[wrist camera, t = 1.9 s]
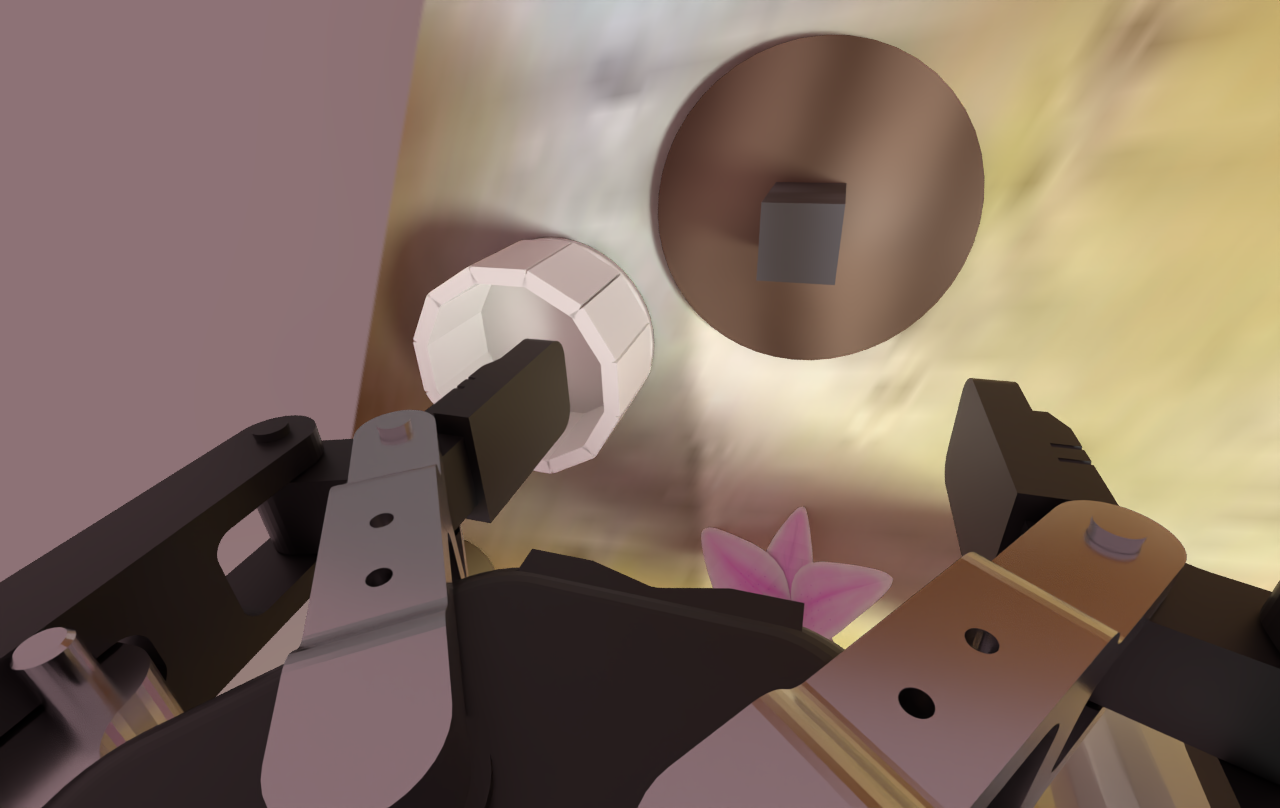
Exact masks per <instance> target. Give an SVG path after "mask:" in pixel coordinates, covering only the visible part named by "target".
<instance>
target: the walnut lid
mask: <svg viewBox="0 0 1280 808" xmlns="http://www.w3.org/2000/svg"><path fill="white" fill-rule="evenodd" d="M983 202H984V169H983V161H982V153H981V149H980V146H979V142H978V139H977V135H976V132H975V129H974V127H973V125H972V123H971V120H970V118H969V116H968V114H967V112H966V110H965V108H964V107H963V105H962V104H961V102H960V101H959V99H958V98H957V96H956V95H955V93H954V92H953V90H952V89H951V88H950V87H949V86H948V85H947V84H946V83H945V82H944V81H943V79H942V78H941V77H940V76H939V75H938V74H937V73H936V72H935V71H933V70H932V69H931V68H929V67H928V66H927V65H925V64H924V63H923V62H921V61H920V60H919V59H917V58H916V57H914V56H912V55H910V54H908V53H906V52H904V51H902V50H901V49H899V48H897V47H894V46H891V45H888V44H885V43H882V42H879V41H877V40H873V39H868V38H862V37H856V36H850V35H822V36H814V37H806V38H800V39H796V40H793V41H789V42H786V43H782V44H778V45H776V46H774V47H771V48H769V49H767V50H764V51H762V52H760V53H757V54H755V55H754V56H752V57H750V58H749V59H747V60H745V61H744V62H742V63H740V64H739V65H737V66H735V67H734V68H733V69H732V70H730V71H729V72H728V73H727V74H725V75H724V76H723V77H722V78H720V79H719V80H718V81H717V82H716V83H715V84H714V85H713V86H712V87H711V88H710V89H709V90H708V91H707V92H706V93H705V94H704V95H703V96H702V97H701V98H700V100H699V101H698V102H697V104H696V105H695V106H694V107H693V109H692V110H691V111H690V113H689V114H688V115H687V117H686V119H685V121H684V122H683V124H682V126H681V127H680V129H679V131H678V132H677V134H676V137H675V139H674V141H673V143H672V146H671V148H670V150H669V153H668V156H667V159H666V162H665V166H664V169H663V173H662V178H661V184H660V190H659V201H658V221H659V233H660V238H661V243H662V248H663V252H664V255H665V258H666V261H667V264H668V267H669V270H670V272H671V274H672V276H673V278H674V280H675V282H676V284H677V286H678V288H679V289H680V291H681V292H682V294H683V295H684V297H685V299H686V300H687V301H688V302H689V304H690V305H691V306H692V307H693V309H694V310H695V311H696V312H697V313H698V314H699V315H700V316H701V317H702V318H703V319H704V320H705V321H706V322H707V323H708V324H709V325H710V326H712V327H713V328H714V329H716V330H717V331H718V332H720V333H721V334H723V335H724V336H725V337H727V338H729V339H731V340H733V341H734V342H736V343H738V344H740V345H742V346H744V347H747V348H749V349H752V350H754V351H756V352H760V353H763V354H767V355H771V356H774V357H780V358H787V359H796V360H818V359H831V358H836V357H841V356H846V355H850V354H853V353H857V352H860V351H863V350H866V349H869V348H871V347H873V346H876V345H878V344H880V343H882V342H885V341H887V340H889V339H890V338H892V337H894V336H895V335H897V334H899V333H900V332H902V331H904V330H905V329H907V328H908V327H909V326H911V325H912V324H913V323H914V322H916V321H917V320H918V319H920V318H921V317H922V316H923V315H924V314H925V313H926V312H927V311H928V310H929V309H930V308H932V307H933V306H934V305H935V304H936V303H937V302H938V301H939V299H940V298H941V297H942V296H943V294H944V293H945V292H946V291H947V289H948V288H949V287H950V286H951V285H952V283H953V281H954V280H955V278H956V277H957V275H958V273H959V272H960V270H961V269H962V267H963V265H964V263H965V261H966V259H967V257H968V255H969V252H970V250H971V248H972V246H973V243H974V240H975V237H976V234H977V231H978V227H979V224H980V219H981V213H982V208H983Z"/></svg>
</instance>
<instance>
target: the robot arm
mask: <svg viewBox="0 0 1280 808" xmlns="http://www.w3.org/2000/svg"><path fill="white" fill-rule="evenodd" d="M569 416H570V400H569V391H568V382H567V373H566V364H565V355H564V350H563V347H562V345H561V343H560V342H558V341H551V340H540V339H528V338H526V339H524V340H522V341H521V342H520V343H519V344H518V345H516V346H515V347H514V348H513V349H511V350H510V351H509V352H508V353H506V354H505V355H504V356H503V357H501V358H500V359H497V360H495V361H493V362H490V363H488V364H486V365H483V366H482V367H480V368H479V369H478V370H476V371H475V372H474V373H473V374H471V375H470V376H469V377H468V379H465V380H464V381H463V382H461V383H460V384H459V385H457V388H454V389H452V390H451V391H450V392H449V393H447V394H446V395H445V396H444V397H442V398H441V399H440V400H438V401H437V402H436V403H435V404H433V405H432V406H431V407H430V408H428V409H427V410H426V411H425V412H424V411H419V410H402V411H396V412H391V413H387V414H384V415H381V416H378V417H376V418H374V419H372V420H370V421H368V422H366V423H365V424H363V425H362V426H361V427H360V428H359V429H358V430H357V431H356V433H355V435H354V439H345V440H344V439H343V440H325V441H322V440H321V438H320V435H319V432H318V429H317V426H316V424H315V421H314V420H312V419H311V418H309V417H306V416H296V415H295V416H283V417H278V418H273V419H269V420H266V421H263V422H260V423H257V424H255V425H252V426H250V427H248V428H246V429H245V430H243V431H241V432H240V433H238V434H236V435H235V436H233V437H232V438H230V439H228V440H227V441H225V442H223V443H222V444H220V445H219V446H217V447H215V448H214V449H212V450H211V451H209V452H207V453H206V454H204V455H203V456H201V457H200V458H198V459H196V460H195V461H193V462H192V463H190V464H189V465H187V466H185V467H184V468H182V469H180V470H179V471H177V472H176V473H174V474H172V475H171V476H169V477H168V478H166V479H164V480H163V481H161V482H160V483H158V484H156V485H155V486H153V487H152V488H150V489H149V490H147V491H145V492H144V493H142V494H141V495H139V496H138V497H136V498H134V499H133V500H131V501H130V502H128V503H126V504H125V505H123V506H121V507H120V508H118V509H117V510H115V511H114V512H112V513H110V514H109V515H107V516H105V517H104V518H102V519H101V520H99V521H97V522H96V523H94V524H93V525H91V526H90V527H88V528H86V529H85V530H83V531H82V532H80V533H78V534H77V535H75V536H74V537H72V538H70V539H69V540H67V541H66V542H64V543H62V544H61V545H59V546H58V547H56V548H54V549H53V550H52V551H50V552H48V553H47V554H45V555H43V556H42V557H40V558H38V559H37V560H35V561H34V562H32V563H30V564H29V565H27V566H26V567H24V568H22V569H21V570H19V571H18V572H16V573H15V574H13V575H11V576H10V577H8V578H7V579H5V580H4V581H2V582H0V808H1280V581H1279V582H1278V584H1277V585H1276V587H1275V589H1274V590H1273V592H1270V591H1267V590H1264V589H1261V588H1258V587H1255V586H1251V585H1248V584H1245V583H1242V582H1239V581H1236V580H1233V579H1229V578H1226V577H1223V576H1220V575H1217V574H1214V573H1211V572H1208V571H1205V570H1202V569H1199V568H1196V567H1194V566H1192V565H1189V564H1187V563H1185V562H1186V560H1187V554H1186V551H1185V548H1184V547H1183V545H1182V544H1181V542H1180V541H1179V540H1178V539H1177V538H1176V537H1175V536H1174V535H1173V534H1172V533H1171V532H1170V531H1168V530H1167V529H1166V528H1164V527H1163V526H1161V525H1160V524H1159V523H1157V522H1155V521H1153V520H1152V519H1150V518H1148V517H1146V516H1144V515H1142V514H1139V513H1137V512H1135V511H1132V510H1129V509H1127V508H1124V507H1120V506H1119V505H1118V504H1117V502H1116V501H1115V499H1114V497H1113V496H1112V494H1111V492H1110V491H1109V489H1108V488H1107V486H1106V484H1105V483H1104V481H1103V480H1102V478H1101V476H1100V475H1099V473H1098V471H1097V470H1096V468H1095V467H1094V465H1091V460H1090V459H1089V457H1088V455H1087V454H1086V452H1085V451H1084V450H1082V446H1081V444H1080V442H1079V441H1078V439H1077V438H1076V436H1075V434H1074V433H1073V431H1072V430H1071V428H1069V427H1068V426H1066V425H1065V424H1064V423H1062V422H1061V421H1059V420H1058V419H1057V418H1055V417H1054V416H1052V415H1051V414H1049V413H1048V412H1041V411H1032V409H1031V407H1030V405H1029V404H1028V402H1027V400H1026V398H1025V396H1024V394H1023V392H1022V391H1021V389H1020V387H1019V385H1018V384H1017V383H1016V382H1009V381H997V380H986V379H975V378H969V379H968V380H967V381H966V383H965V385H964V388H963V391H962V395H961V399H960V403H959V407H958V411H957V415H956V419H955V423H954V427H953V431H952V435H951V439H950V443H949V447H948V451H947V456H946V462H945V484H946V489H947V493H948V498H949V502H950V506H951V511H952V515H953V520H954V524H955V528H956V533H957V537H958V541H959V546H960V550H961V554H962V557H961V558H960V559H959V560H957V561H956V562H955V563H954V564H952V565H951V566H950V567H949V568H947V569H946V570H945V571H944V572H942V573H941V574H940V575H939V576H937V577H936V578H935V579H933V580H932V581H931V582H930V583H928V584H927V585H926V586H925V587H923V588H922V589H921V590H920V591H918V592H917V593H916V594H915V595H913V596H912V597H911V598H910V599H908V600H907V601H906V602H905V603H903V604H902V605H901V606H899V607H898V608H897V609H896V610H894V611H893V612H892V613H891V614H889V615H888V616H887V617H886V618H884V619H883V620H882V621H881V622H879V623H878V624H877V625H876V626H874V627H873V628H872V629H871V630H869V631H868V632H867V633H865V634H864V635H863V636H862V637H860V638H859V639H858V640H857V641H855V642H854V643H853V644H852V645H850V646H849V647H848V648H847V649H843V648H842V647H840V646H839V645H837V644H836V643H834V642H833V641H831V640H829V639H827V638H825V637H824V636H822V635H820V634H818V633H816V632H814V631H812V630H810V629H808V628H806V627H803V615H804V604H805V603H802V602H797V601H791V600H786V599H781V598H776V597H771V596H766V595H761V594H756V593H751V592H746V591H741V590H736V589H731V588H655V587H651V586H648V585H646V584H644V583H641V582H639V581H637V580H635V579H632V578H630V577H628V576H626V575H623V574H621V573H619V572H617V571H614V570H612V569H610V568H608V567H605V566H603V565H601V564H599V563H596V562H594V561H591V560H586V559H581V558H576V557H571V556H566V555H561V554H556V553H551V552H546V551H541V550H536V549H532V550H531V552H530V553H529V555H528V556H527V557H526V559H525V560H524V562H523V563H522V565H521V566H520V568H507V569H497V570H492V571H487V572H482V573H479V574H475V575H472V576H469V574H468V567H467V560H466V552H465V545H464V538H463V534H462V530H461V525H460V524H461V523H462V522H463V521H464V520H465V518H466V519H471V520H476V521H482V522H487V523H491V522H492V521H493V520H494V518H495V517H496V516H497V515H498V513H499V512H500V511H501V510H502V508H503V507H504V506H505V505H506V504H507V502H508V501H509V500H510V499H511V497H512V496H513V495H514V494H515V492H516V491H517V490H518V489H519V487H520V486H521V485H522V484H523V482H524V481H525V480H526V479H527V477H528V476H529V475H530V474H531V472H532V471H533V470H534V469H535V467H536V466H537V465H538V464H539V462H540V461H541V460H542V459H543V458H544V456H545V455H546V454H547V453H548V451H549V450H550V449H551V448H552V446H553V445H554V444H555V443H556V441H557V440H558V439H559V438H560V436H561V435H562V434H563V433H564V431H565V429H566V427H567V425H568V421H569ZM256 508H257V509H258V511H259V513H260V516H261V518H262V520H263V522H264V525H265V527H266V529H267V531H268V534H269V536H270V539H268V540H267V541H266V542H265V543H264V544H263V545H262V546H260V547H259V548H258V549H257V550H256V551H255V552H253V553H252V554H251V555H250V556H249V557H248V558H246V559H245V560H244V561H243V562H242V563H241V564H239V565H238V566H237V567H236V568H235V569H234V570H232V571H231V572H230V573H229V574H228V575H227V576H225V574H224V572H223V570H222V569H221V567H220V565H219V562H218V559H217V550H218V545H219V543H220V541H221V539H222V537H223V536H224V535H225V533H226V532H227V531H228V530H230V529H231V528H232V527H233V526H235V525H236V524H237V523H238V522H240V521H241V520H242V519H243V518H245V517H246V516H247V515H249V514H250V513H251V512H252V511H254V510H255V509H256ZM309 598H310V600H309V605H308V611H307V616H306V622H305V627H304V633H303V638H302V642H301V644H300V646H299V648H298V649H297V650H294V651H292V652H291V653H290V654H289V655H288V657H287V659H286V661H285V663H284V664H283V665H281V666H279V667H277V668H275V669H273V670H270V671H268V672H266V673H264V674H262V675H260V676H258V677H256V678H254V679H252V680H250V681H248V682H246V683H244V684H242V685H239V686H237V687H235V688H233V689H231V690H229V691H228V692H225V693H223V694H221V695H219V696H217V695H218V694H219V693H220V691H221V690H222V689H223V688H224V687H225V686H226V685H227V684H228V683H229V682H230V681H231V680H232V679H233V678H234V677H235V676H236V674H237V673H239V672H240V670H241V669H242V668H243V667H244V666H245V665H246V664H247V663H248V662H249V661H250V660H251V659H252V658H253V657H254V656H255V655H256V654H257V652H259V650H261V648H262V647H263V646H264V645H265V644H266V643H267V642H268V641H269V640H270V639H271V638H272V637H273V636H274V635H275V634H276V633H277V632H278V631H279V630H280V629H281V628H282V626H283V625H284V624H285V623H286V622H287V621H288V620H289V619H290V618H291V617H292V616H293V615H294V614H295V613H296V612H297V611H298V610H299V609H300V608H301V607H302V606H303V604H304V603H305V602H306V601H307V600H308V599H309ZM216 696H217V697H216Z"/></svg>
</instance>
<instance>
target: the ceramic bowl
mask: <svg viewBox="0 0 1280 808" xmlns="http://www.w3.org/2000/svg"><path fill="white" fill-rule="evenodd" d="M526 338H528V339H540V340H551V341H558V342H560V343H561V345H562V347H563V350H564V355H565V364H566V373H567V382H568V391H569V400H570V416H569V421H568V425H567V427H566V429H565V431H564V433H563V434H562V435H561V436H560V438H559V439H558V440H557V441H556V443H555V444H554V445H553V446H552V448H551V449H550V450H549V451H548V453H547V454H546V455H545V456H544V458H543V459H542V460H541V461H540V462H539V464H538V465H537V466H536V467H535V469H534V470H533V471H538V472H544V473H550V474H551V473H552V472H553V473H556V472H559V471H561V470H564V469H567V468H569V467H572V466H574V465H577V464H580V463H582V462H585V461H588V460H590V459H593V458H594V457H596V455H597V454H598V453H599V451H600V450H601V448H602V447H603V445H604V444H605V442H606V441H607V439H608V438H609V436H610V435H611V433H612V432H613V430H614V429H615V427H616V426H617V424H618V423H619V421H620V420H621V418H622V417H623V415H624V414H625V412H626V411H627V409H628V408H629V406H630V405H631V403H632V401H633V400H634V398H635V397H636V395H637V393H638V392H639V390H640V389H641V387H642V386H643V384H644V382H645V381H646V379H647V378H648V376H649V374H650V371H651V366H652V361H653V356H654V332H653V326H652V322H651V317H650V314H649V312H648V309H647V306H646V304H645V302H644V300H643V298H642V296H641V294H640V292H639V291H638V289H637V288H636V286H635V284H634V283H633V281H632V280H631V279H630V278H629V277H628V276H627V274H626V273H625V272H624V271H623V270H622V269H621V268H620V267H619V266H618V265H617V264H616V263H615V262H613V261H612V260H611V259H609V258H608V257H607V256H605V255H604V254H602V253H601V252H599V251H597V250H595V249H594V248H592V247H590V246H587V245H585V244H582V243H580V242H577V241H573V240H569V239H564V238H555V237H547V238H537V239H531V240H520V241H518V242H516V243H514V244H512V245H510V246H508V247H506V248H504V249H502V250H500V251H498V252H496V253H494V254H492V255H490V256H488V257H486V258H484V259H482V260H480V261H478V262H476V263H474V264H472V265H470V266H468V267H466V268H465V269H464V270H462V271H461V272H459V273H458V274H456V275H455V276H453V277H452V278H450V279H449V280H447V281H446V282H444V283H443V284H441V285H440V286H438V287H437V288H435V289H434V290H432V291H431V292H429V293H428V295H427V296H426V299H425V302H424V306H423V309H422V312H421V315H420V319H419V322H418V325H417V328H416V332H415V335H414V338H413V340H414V342H413V344H414V348H415V352H416V357H417V361H418V365H419V370H420V374H421V378H422V382H423V387H424V391H428V392H427V393H426V394H427V396H428V397H429V399H430V400H431V401H432V403H433V404H435V403H436V402H437V401H438V400H440V399H441V398H442V397H444V396H445V395H446V394H447V393H449V392H450V391H451V390H452V389H454V388H457V385H459V384H460V383H461V382H463V381H464V380H465V379H468V377H469V376H470V375H471V374H473V373H474V372H475V371H476V370H478V369H479V368H480V367H482V366H483V365H486V364H488V363H490V362H493V361H495V360H497V359H500V358H501V357H503V356H504V355H505V354H506V353H508V352H509V351H510V350H511V349H513V348H514V347H515V346H516V345H518V344H519V343H520V342H521V341H522V340H524V339H526Z"/></svg>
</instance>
